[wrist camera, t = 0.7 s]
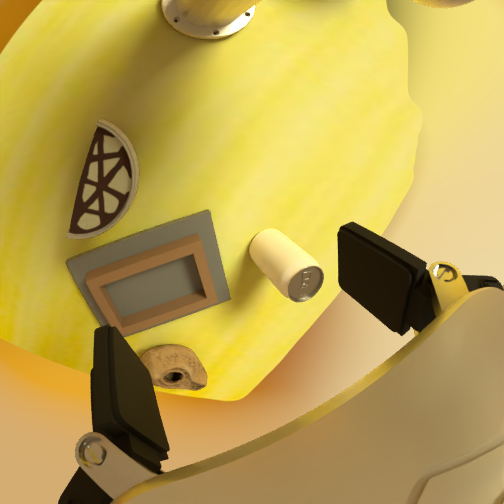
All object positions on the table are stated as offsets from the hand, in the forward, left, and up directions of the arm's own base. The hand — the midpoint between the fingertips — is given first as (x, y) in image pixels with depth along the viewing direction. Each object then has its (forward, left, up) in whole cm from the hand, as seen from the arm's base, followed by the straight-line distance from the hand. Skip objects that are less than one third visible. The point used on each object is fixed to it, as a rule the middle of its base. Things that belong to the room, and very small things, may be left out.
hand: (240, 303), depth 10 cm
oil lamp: (+33, -9, -28) cm, 44 cm away
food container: (-2, -6, -28) cm, 29 cm away
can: (+16, +13, -28) cm, 35 cm away
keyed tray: (+15, -6, -28) cm, 32 cm away
